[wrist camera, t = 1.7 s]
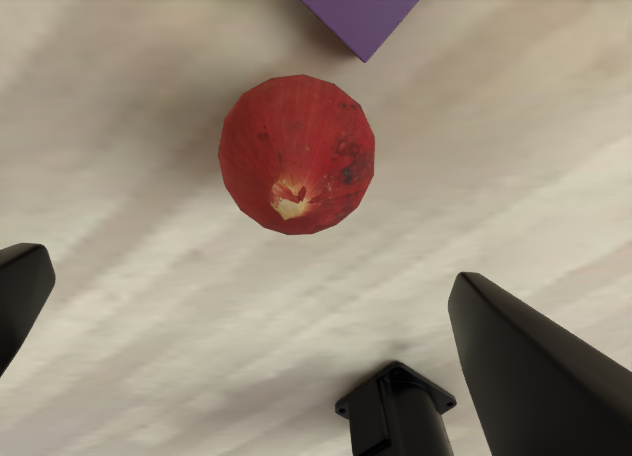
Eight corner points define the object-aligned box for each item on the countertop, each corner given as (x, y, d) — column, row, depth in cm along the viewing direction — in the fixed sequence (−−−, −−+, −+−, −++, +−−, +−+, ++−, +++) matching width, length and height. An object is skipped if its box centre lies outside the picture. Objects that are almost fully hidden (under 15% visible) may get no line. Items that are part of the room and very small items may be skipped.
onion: (362, 57, 16) (402, 95, 9) (362, 182, 19) (393, 283, 12) (226, 68, 16) (164, 112, 9) (248, 190, 19) (212, 294, 12)
